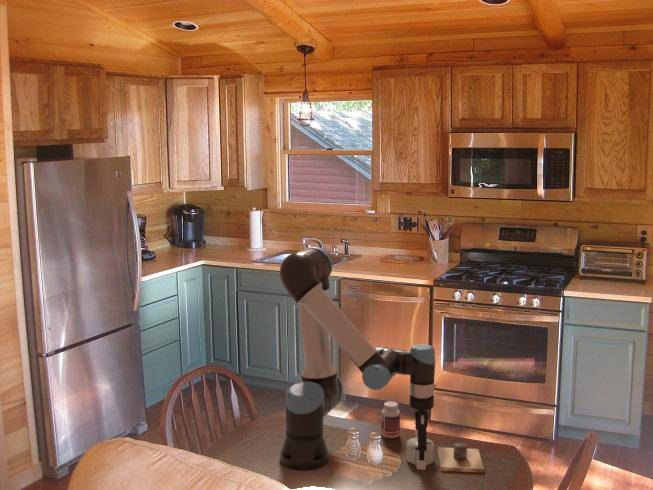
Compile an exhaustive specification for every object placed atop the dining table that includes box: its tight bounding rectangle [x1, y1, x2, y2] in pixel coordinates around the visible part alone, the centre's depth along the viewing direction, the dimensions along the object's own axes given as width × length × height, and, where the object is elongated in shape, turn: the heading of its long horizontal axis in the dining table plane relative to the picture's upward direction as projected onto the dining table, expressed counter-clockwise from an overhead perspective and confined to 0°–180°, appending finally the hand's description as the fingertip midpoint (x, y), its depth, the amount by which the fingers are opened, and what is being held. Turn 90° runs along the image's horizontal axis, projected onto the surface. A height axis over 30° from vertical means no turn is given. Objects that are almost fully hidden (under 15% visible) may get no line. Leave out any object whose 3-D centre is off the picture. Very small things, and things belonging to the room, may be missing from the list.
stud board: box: [436, 442, 485, 474], centre depth 239 cm, size 13×14×5 cm
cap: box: [406, 437, 435, 466], centre depth 240 cm, size 8×8×6 cm
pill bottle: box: [380, 401, 401, 439], centre depth 258 cm, size 6×6×11 cm
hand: (420, 459), depth 241 cm, fingers open, 13 cm apart
